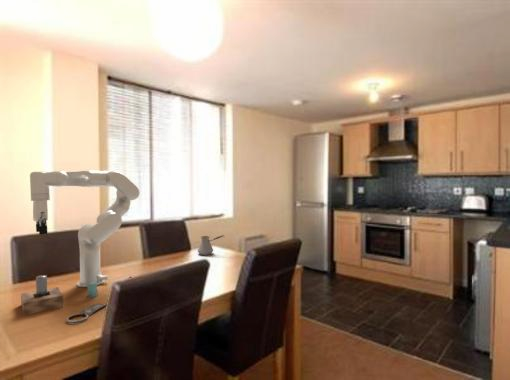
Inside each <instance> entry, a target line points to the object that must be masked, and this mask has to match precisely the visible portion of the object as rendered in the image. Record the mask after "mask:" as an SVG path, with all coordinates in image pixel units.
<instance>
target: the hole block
mask: <svg viewBox="0 0 510 380" xmlns="http://www.w3.org/2000/svg"><path fill="white" fill-rule="evenodd" d="M20 295H21V296H20V297H21V298H20V301H21V302H20V303H21V308H22V314H23V316H27V315H32V314H37V313H41V312H46V311H50V310H56V309H59V308H63V307H64V295H63V293H62V292H61V290H60V289H59V287H51V288H47V296H43V297H38V298H36V290H34V291H30V292H24V293H21V294H20Z"/></svg>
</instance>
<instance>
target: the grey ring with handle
mask: <svg viewBox="0 0 510 380" xmlns="http://www.w3.org/2000/svg"><path fill="white" fill-rule="evenodd" d="M106 305H107V304H100V303H95V304H92V305H89V306H88V307H86V308H84V309H83V310H82V311H79V312H78V313H76V314H72V315H69V316H68V317H67V318H66V320H65V321H66V323H67V324H68V325H77V324H82V323H84V322H86V321H87V320H88V319H89V316H93V314H94V313H95V312H97V311H98V310H100V309H101V308H106V307H107V306H106ZM79 317H80V318H81V317H82V318H81V319H77V320H72V319H76V318H79Z"/></svg>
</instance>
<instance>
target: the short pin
mask: <svg viewBox="0 0 510 380" xmlns="http://www.w3.org/2000/svg"><path fill="white" fill-rule="evenodd" d="M96 297H98V285H97V283H96V282H92V283H88V287H87V298H96Z"/></svg>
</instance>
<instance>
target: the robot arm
mask: <svg viewBox="0 0 510 380" xmlns="http://www.w3.org/2000/svg"><path fill="white" fill-rule="evenodd" d="M29 182H30V183H29V184H30V187H29V189H30V201H31V202H33V203H32V220H33V221H34V222H36V223H35V232H36V233H38V235H41V236H42V235H48V222H47V221H48V218H49V214H48V201H50V199H51V198H50V197H51V196H50V187H84V188H93V187H95V188H101V187H114V188H115V189H116V199H115V201H114V203H112V204H111V205H110V206H109V207H108V208H106V209H105V210H103V212H101V213H99V215H98V216H97V217H96V224H91V223H87V224H84V225H82V226H81V227H79V230H78V233H77V239H78V245H79V246H78V247H79V274H80V275H79V279H80V280H78V281H77V282H76V286H77V287H80V288H88V283H92V282H96V283H97V286H99V285H101V284H103V283H104V281H108V280H109V275H107V274H106V275H103V273H102V272H101V255H100V254H101V249H100V248H101V247H100V244H102V243H103V242H105V240H107V239H108V238H109V237H110V236H112V234H113V235H114V233H115V232H116V231H117V230H118V229H119V228H120V227H121V226H122V222H123V219H122V217H124V216H125V214H126V213H128V212H129V209H130V206H131V201H135V200H137V199H138V198H139V197H140V189H139V188H138V186H137V185H135V183H133V181H131V180H130V179H129V177H127V176H126V175H125V174H124V173H122V172H121V171H119V170H80V171H60V170H56V171H54V170H53V171H49V172H48V171H32V172H30V174H29Z"/></svg>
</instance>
